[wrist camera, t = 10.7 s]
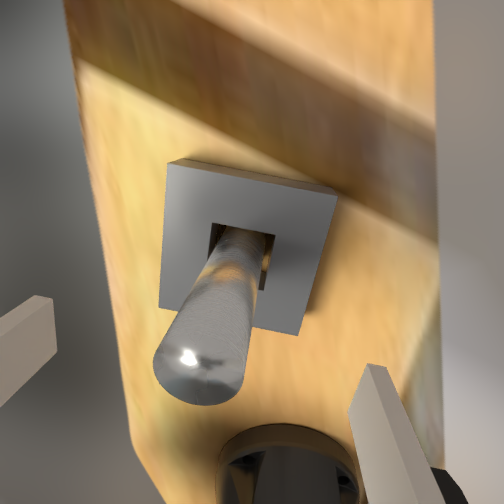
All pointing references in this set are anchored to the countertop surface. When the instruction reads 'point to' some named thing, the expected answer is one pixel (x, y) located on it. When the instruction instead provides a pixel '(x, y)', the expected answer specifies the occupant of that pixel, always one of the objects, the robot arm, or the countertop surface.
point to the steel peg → (214, 324)
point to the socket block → (247, 217)
